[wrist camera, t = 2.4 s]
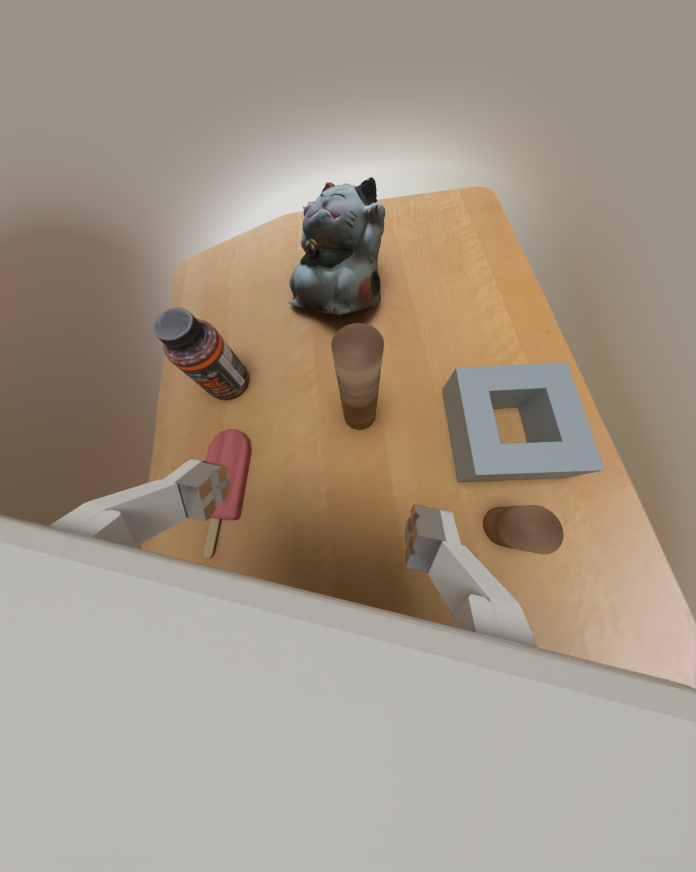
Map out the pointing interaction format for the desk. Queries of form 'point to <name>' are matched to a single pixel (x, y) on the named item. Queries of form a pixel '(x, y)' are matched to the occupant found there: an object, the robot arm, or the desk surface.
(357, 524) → the desk surface
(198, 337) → the supplement bottle
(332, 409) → the desk surface
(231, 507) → the popsicle
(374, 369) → the long pin
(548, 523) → the short pin
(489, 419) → the socket block
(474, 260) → the desk surface
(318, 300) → the lucky cat figurine
